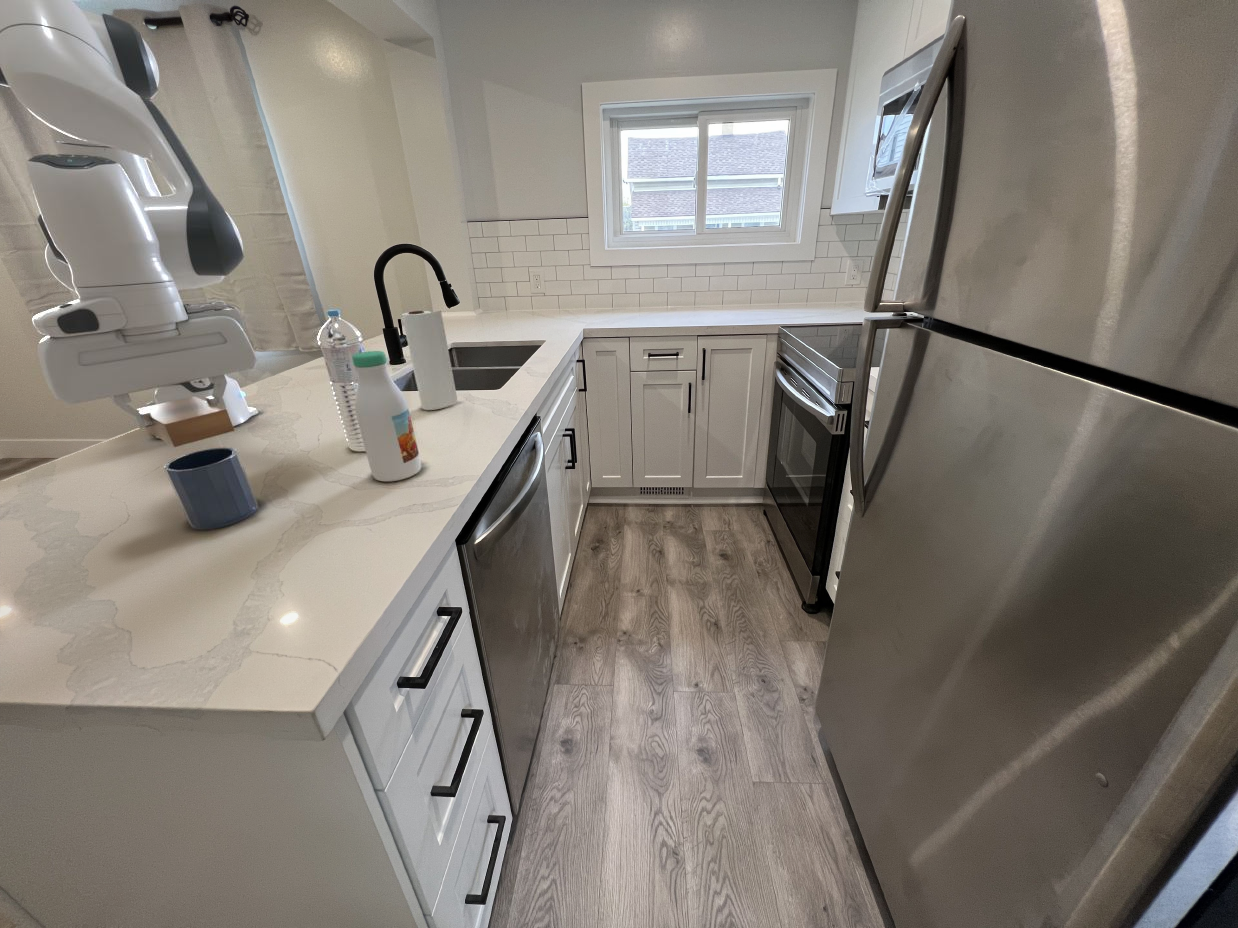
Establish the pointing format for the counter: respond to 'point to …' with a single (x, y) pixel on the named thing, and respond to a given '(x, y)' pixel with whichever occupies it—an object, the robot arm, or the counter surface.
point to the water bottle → (343, 371)
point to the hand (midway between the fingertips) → (183, 417)
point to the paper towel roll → (430, 359)
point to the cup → (212, 488)
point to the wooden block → (187, 421)
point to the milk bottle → (384, 420)
